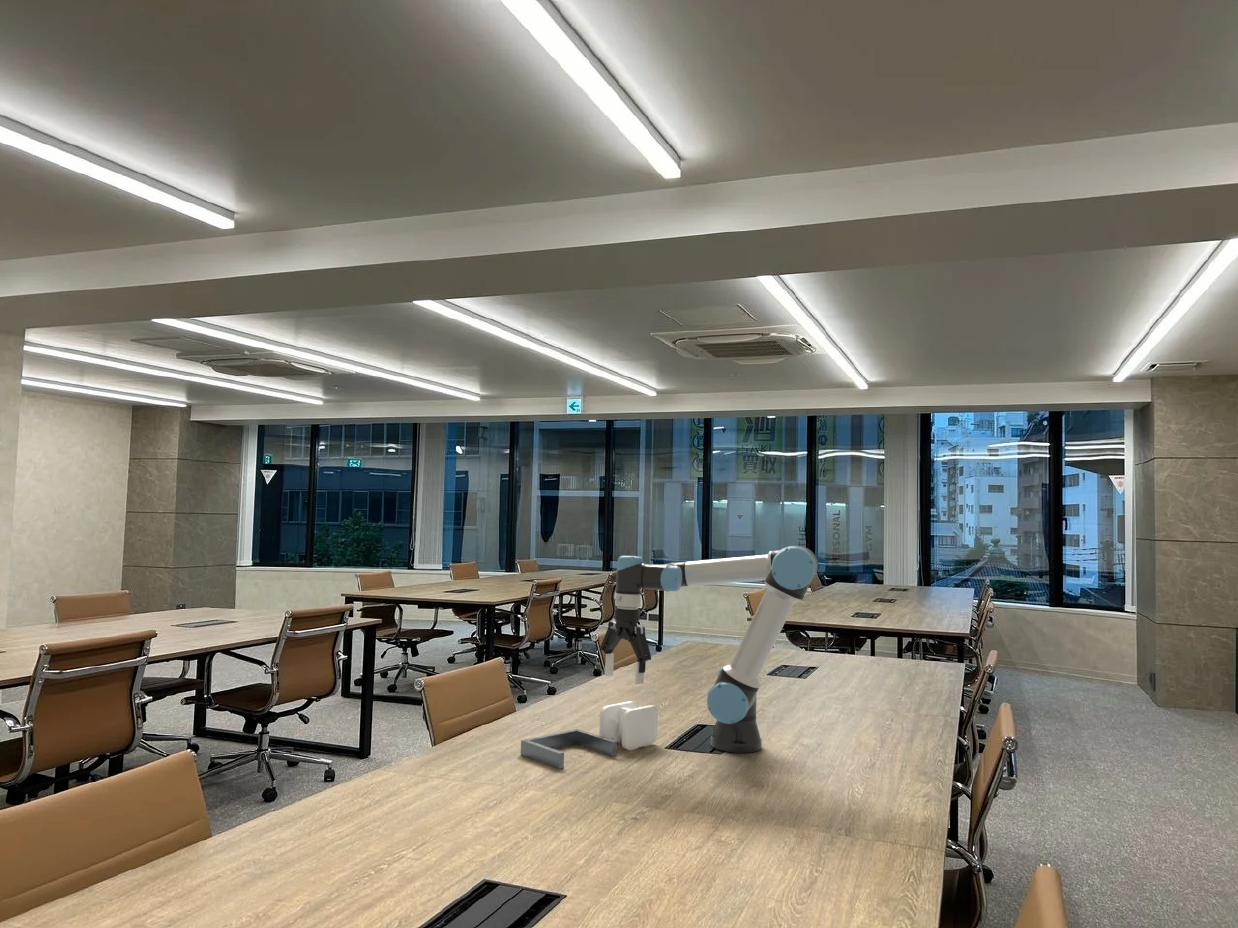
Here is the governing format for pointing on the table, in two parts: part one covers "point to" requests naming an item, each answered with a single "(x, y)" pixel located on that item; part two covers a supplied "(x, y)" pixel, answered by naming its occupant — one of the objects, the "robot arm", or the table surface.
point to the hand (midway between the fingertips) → (623, 679)
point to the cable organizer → (629, 724)
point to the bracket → (546, 746)
